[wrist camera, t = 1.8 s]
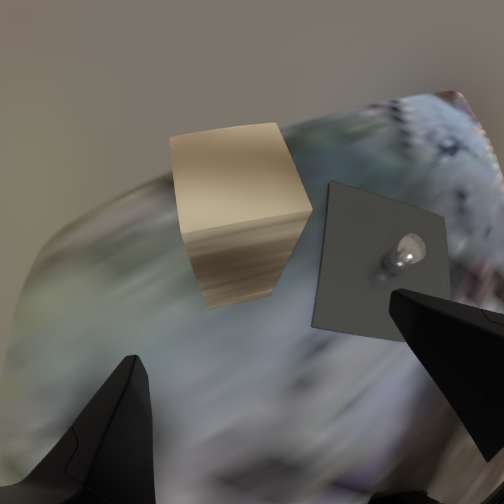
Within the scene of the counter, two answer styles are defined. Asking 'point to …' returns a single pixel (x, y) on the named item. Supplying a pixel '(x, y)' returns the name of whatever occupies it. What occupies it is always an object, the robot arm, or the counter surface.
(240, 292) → the birch post
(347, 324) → the post plate
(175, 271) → the counter surface
